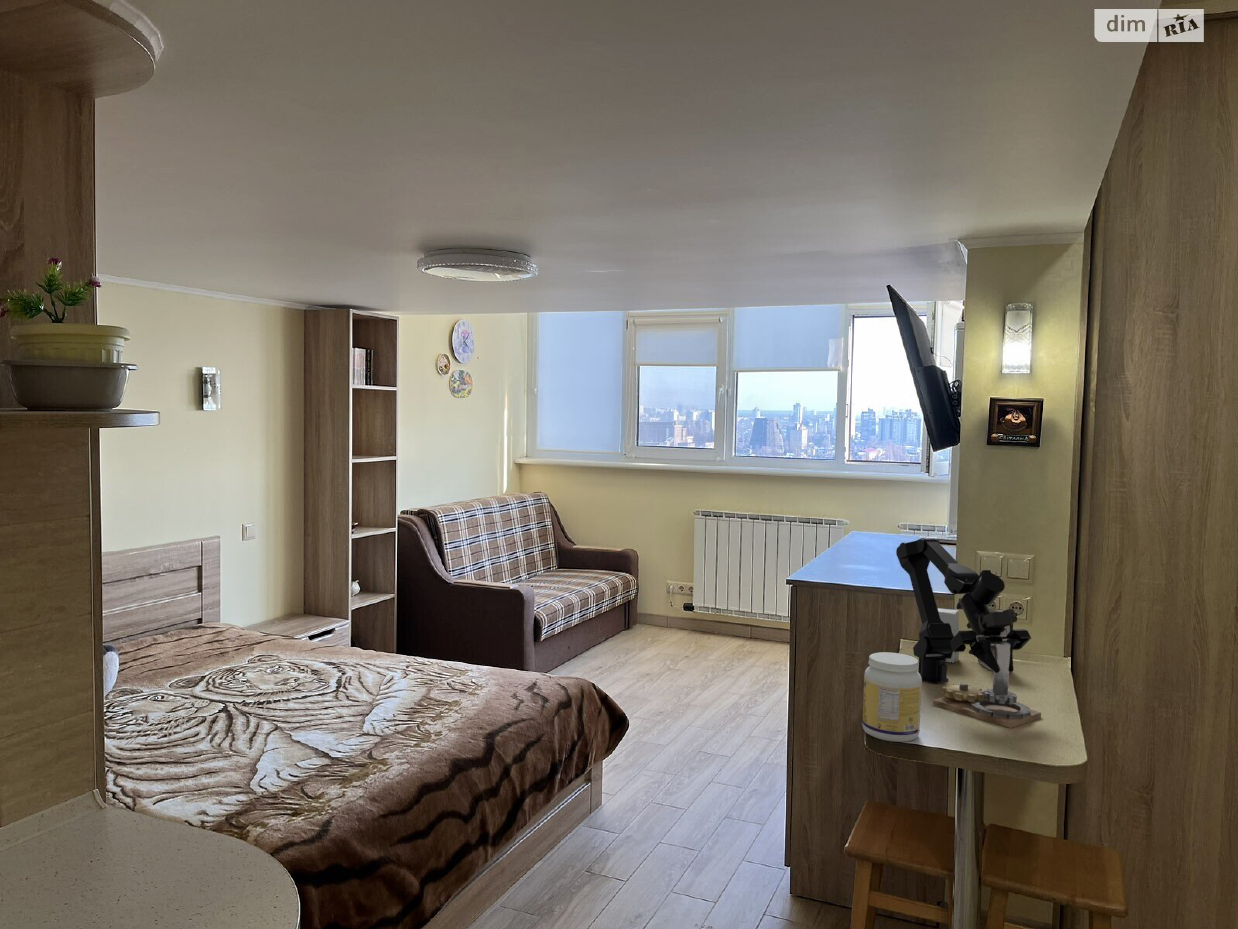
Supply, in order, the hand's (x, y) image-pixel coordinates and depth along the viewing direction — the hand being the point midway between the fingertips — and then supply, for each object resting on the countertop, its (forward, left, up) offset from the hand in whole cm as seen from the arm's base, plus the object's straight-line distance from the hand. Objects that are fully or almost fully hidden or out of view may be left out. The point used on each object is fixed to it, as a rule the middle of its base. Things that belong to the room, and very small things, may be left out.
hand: (1004, 671), depth 207 cm
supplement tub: (-8, -33, -11) cm, 36 cm away
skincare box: (-39, +35, -11) cm, 53 cm away
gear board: (-5, +1, -11) cm, 12 cm away
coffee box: (-26, +41, -11) cm, 50 cm away
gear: (-1, +1, -7) cm, 7 cm away
